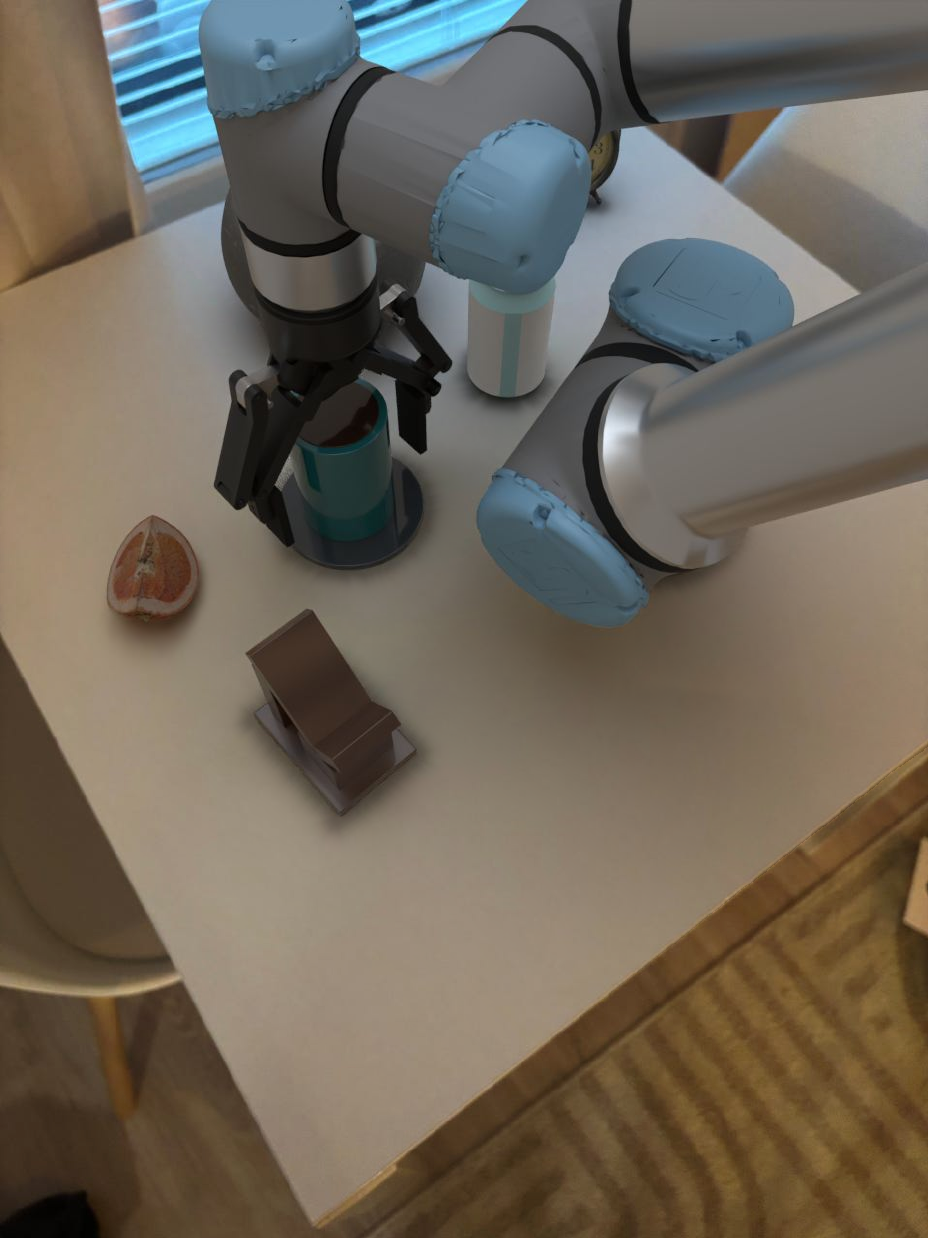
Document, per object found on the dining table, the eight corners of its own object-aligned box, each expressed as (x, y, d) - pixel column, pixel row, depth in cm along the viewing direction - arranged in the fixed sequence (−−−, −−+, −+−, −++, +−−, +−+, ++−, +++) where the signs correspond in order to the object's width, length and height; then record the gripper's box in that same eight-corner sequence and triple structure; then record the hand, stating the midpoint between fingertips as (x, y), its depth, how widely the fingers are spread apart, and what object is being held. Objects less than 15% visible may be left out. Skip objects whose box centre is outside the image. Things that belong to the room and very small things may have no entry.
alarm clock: (501, 204, 96) (510, 42, 82) (508, 170, 99) (518, 8, 85) (608, 217, 96) (635, 56, 82) (612, 182, 98) (640, 21, 84)
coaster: (409, 441, 81) (409, 436, 81) (437, 556, 76) (436, 551, 75) (270, 463, 80) (269, 459, 80) (288, 582, 74) (286, 578, 74)
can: (468, 342, 87) (470, 233, 77) (544, 345, 87) (557, 236, 77) (465, 401, 84) (467, 295, 73) (544, 403, 84) (558, 298, 73)
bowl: (372, 222, 95) (361, 100, 84) (464, 334, 88) (466, 218, 76) (208, 285, 90) (174, 165, 79) (291, 409, 83) (266, 296, 72)
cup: (231, 417, 75) (284, 404, 63) (307, 369, 77) (371, 348, 66) (318, 554, 79) (381, 565, 68) (387, 504, 82) (459, 507, 71)
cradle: (254, 717, 69) (224, 651, 60) (330, 660, 71) (312, 587, 62) (340, 816, 65) (322, 763, 56) (417, 753, 68) (411, 691, 58)
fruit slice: (194, 641, 72) (177, 609, 67) (105, 640, 72) (83, 608, 67) (209, 549, 76) (194, 513, 71) (125, 548, 76) (105, 512, 71)
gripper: (429, 156, 62) (434, 382, 81) (101, 339, 54) (191, 544, 73) (507, 213, 60) (494, 433, 78) (175, 415, 51) (249, 608, 70)
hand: (348, 487), depth 75 cm, fingers open, 13 cm apart
